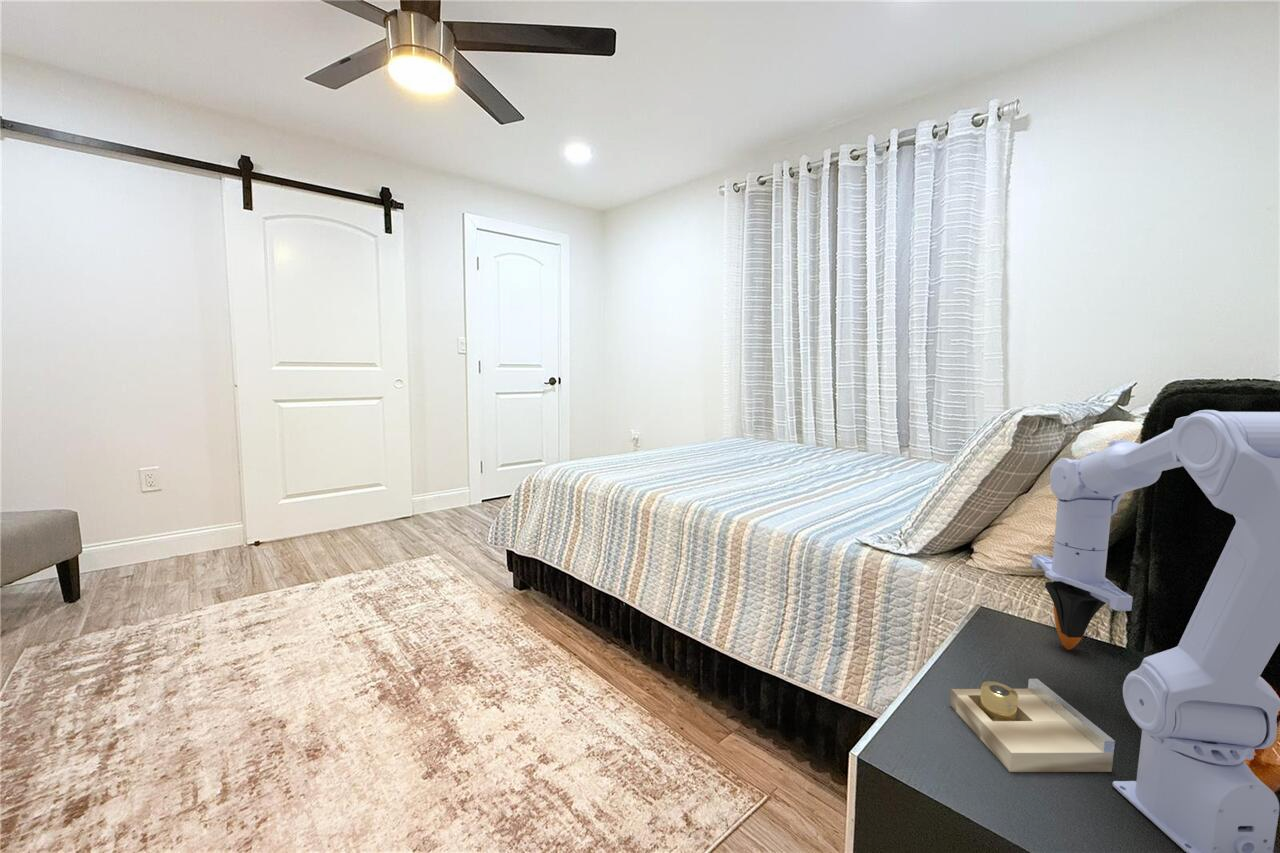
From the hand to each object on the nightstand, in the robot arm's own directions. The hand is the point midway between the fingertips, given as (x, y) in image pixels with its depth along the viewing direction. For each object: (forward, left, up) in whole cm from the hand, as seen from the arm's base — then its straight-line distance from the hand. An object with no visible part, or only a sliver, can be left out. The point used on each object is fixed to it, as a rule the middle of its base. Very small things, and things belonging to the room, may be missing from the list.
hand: (1071, 635), depth 73 cm
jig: (-8, +12, -9) cm, 17 cm away
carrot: (+12, -10, -10) cm, 18 cm away
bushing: (-6, +14, -10) cm, 18 cm away
